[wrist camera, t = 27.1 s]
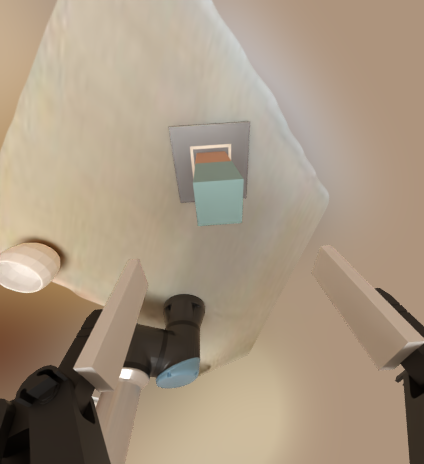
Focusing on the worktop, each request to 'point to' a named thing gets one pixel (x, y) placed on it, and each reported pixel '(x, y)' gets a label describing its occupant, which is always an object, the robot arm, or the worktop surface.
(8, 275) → the cup
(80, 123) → the worktop surface
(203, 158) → the terracotta block
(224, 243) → the worktop surface
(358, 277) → the robot arm
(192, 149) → the base plate
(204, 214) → the teal block
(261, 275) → the worktop surface
